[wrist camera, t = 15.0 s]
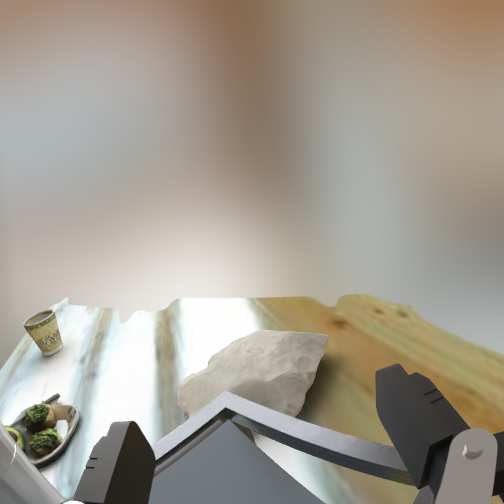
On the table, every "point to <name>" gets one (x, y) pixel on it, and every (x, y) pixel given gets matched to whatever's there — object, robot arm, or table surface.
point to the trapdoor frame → (291, 440)
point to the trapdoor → (225, 473)
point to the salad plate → (43, 430)
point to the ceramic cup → (44, 331)
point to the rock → (258, 372)
